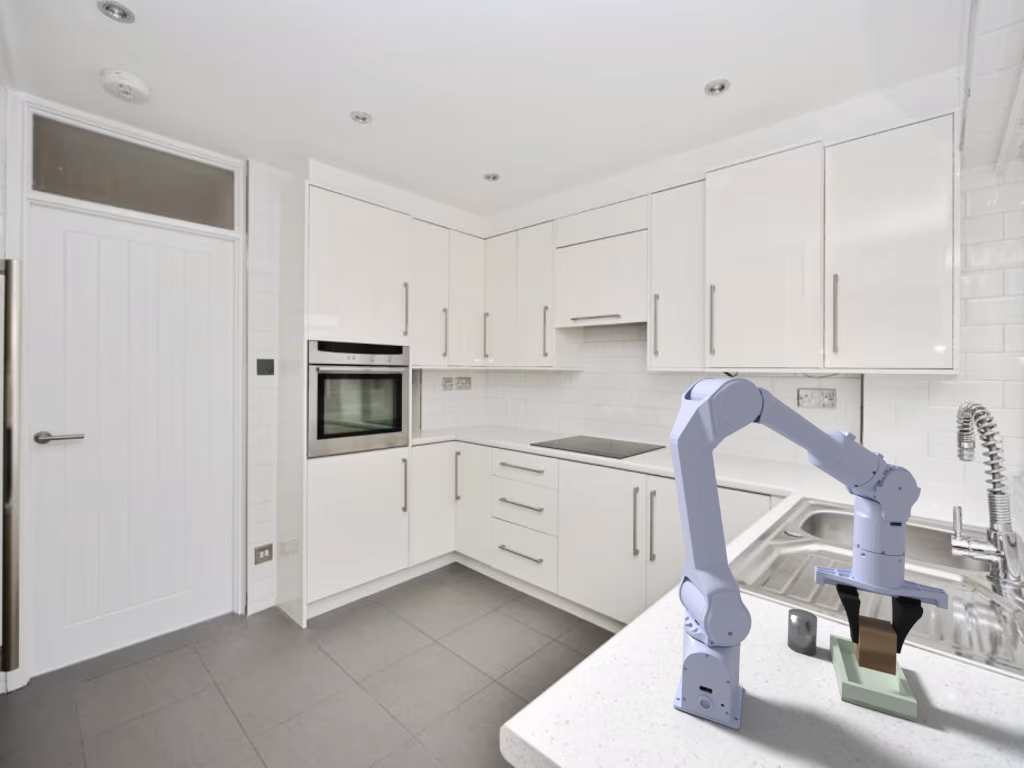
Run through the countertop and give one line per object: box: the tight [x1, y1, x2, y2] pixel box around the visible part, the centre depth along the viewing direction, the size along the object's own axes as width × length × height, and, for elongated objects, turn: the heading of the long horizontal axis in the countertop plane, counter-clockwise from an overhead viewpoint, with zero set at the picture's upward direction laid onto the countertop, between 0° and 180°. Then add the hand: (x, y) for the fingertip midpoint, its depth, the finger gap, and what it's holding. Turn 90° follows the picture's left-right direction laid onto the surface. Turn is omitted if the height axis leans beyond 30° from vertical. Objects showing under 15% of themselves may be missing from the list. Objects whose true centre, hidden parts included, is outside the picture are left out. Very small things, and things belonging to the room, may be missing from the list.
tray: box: [829, 633, 918, 723], centre depth 68 cm, size 14×8×2 cm, turn 151°
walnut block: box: [854, 614, 898, 676], centre depth 65 cm, size 4×4×6 cm
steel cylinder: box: [787, 608, 818, 656], centre depth 76 cm, size 4×4×6 cm
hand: (874, 644), depth 65 cm, fingers closed on walnut block, 4 cm apart
